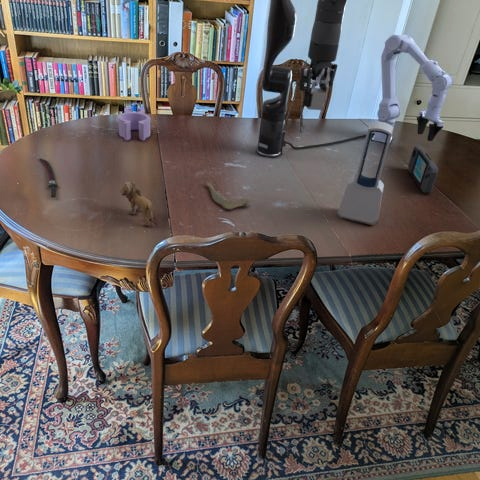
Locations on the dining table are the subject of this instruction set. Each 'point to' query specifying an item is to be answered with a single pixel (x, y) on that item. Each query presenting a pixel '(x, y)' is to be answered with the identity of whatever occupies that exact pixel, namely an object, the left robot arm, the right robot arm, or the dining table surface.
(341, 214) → the electronic device
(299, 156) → the dining table surface
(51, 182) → the sword
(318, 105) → the gray block
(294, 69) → the dark upright piece
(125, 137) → the clip
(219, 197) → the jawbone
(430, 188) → the handheld gaming console
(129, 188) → the lion figurine
